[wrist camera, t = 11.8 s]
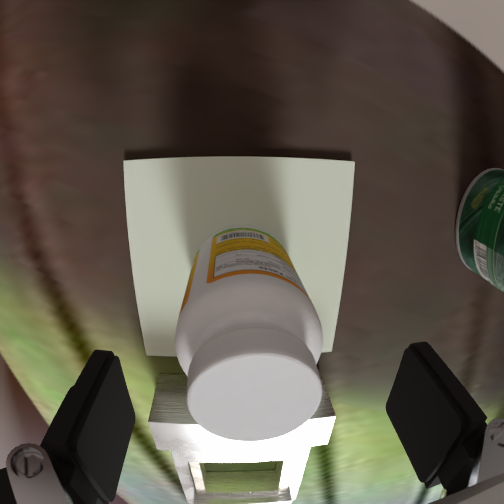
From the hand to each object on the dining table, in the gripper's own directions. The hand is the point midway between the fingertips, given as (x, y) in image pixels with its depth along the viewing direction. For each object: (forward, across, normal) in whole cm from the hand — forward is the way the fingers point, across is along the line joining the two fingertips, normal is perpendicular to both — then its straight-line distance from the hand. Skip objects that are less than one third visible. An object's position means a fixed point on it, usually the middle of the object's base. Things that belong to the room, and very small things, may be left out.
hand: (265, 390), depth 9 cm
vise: (+10, +1, +19) cm, 21 cm away
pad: (+9, +1, -1) cm, 9 cm away
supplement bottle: (+9, +1, 0) cm, 9 cm away
